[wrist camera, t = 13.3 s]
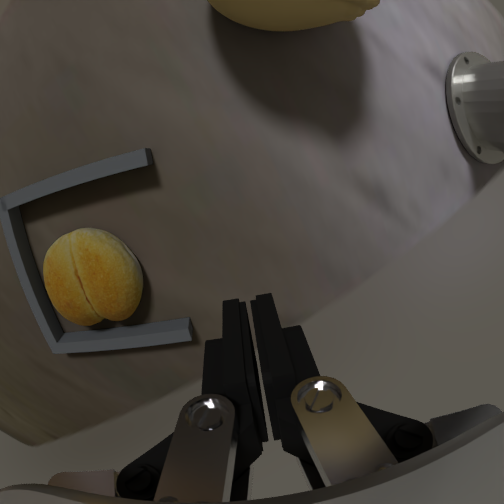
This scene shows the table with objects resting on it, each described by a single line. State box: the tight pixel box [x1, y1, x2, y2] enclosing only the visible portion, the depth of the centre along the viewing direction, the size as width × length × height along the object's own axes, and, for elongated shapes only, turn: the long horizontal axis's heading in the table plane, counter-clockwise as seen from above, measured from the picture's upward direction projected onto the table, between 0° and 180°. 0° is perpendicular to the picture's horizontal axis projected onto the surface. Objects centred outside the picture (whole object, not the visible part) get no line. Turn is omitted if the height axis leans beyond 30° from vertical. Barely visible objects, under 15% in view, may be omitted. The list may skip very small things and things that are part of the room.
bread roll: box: [43, 228, 143, 326], centre depth 21 cm, size 8×9×4 cm
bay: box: [0, 148, 193, 354], centre depth 21 cm, size 15×15×2 cm
